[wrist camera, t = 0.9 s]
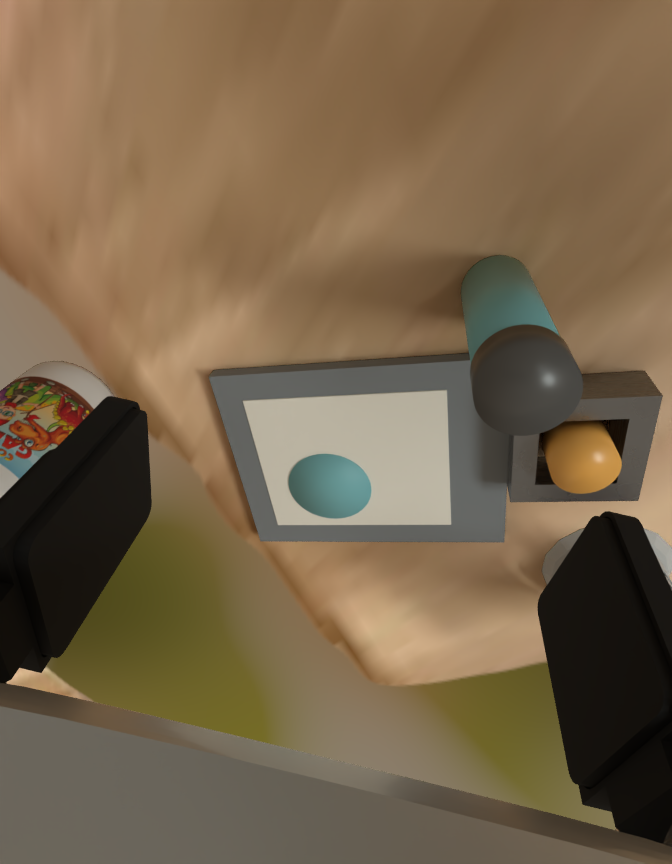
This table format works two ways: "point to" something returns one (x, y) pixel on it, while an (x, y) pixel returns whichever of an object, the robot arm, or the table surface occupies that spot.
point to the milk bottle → (43, 413)
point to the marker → (516, 351)
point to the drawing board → (365, 451)
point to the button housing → (629, 430)
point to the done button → (581, 456)
